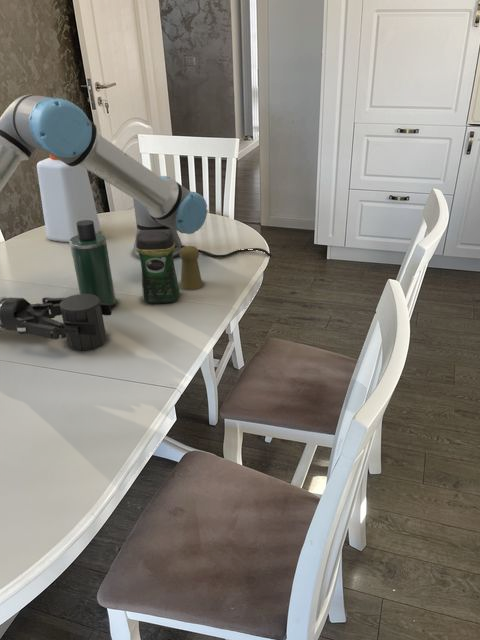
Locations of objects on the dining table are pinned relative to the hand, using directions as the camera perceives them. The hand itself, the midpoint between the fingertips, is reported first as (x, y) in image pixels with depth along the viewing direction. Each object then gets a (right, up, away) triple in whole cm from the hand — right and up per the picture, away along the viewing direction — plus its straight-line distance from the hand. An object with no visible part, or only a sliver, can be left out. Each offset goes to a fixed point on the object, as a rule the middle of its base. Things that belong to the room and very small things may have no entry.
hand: (102, 318), depth 122 cm
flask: (-7, +5, +19) cm, 21 cm away
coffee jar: (+9, +7, +23) cm, 25 cm away
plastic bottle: (-29, +32, +64) cm, 77 cm away
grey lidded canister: (-5, -5, +4) cm, 8 cm away
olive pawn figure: (+16, +11, +30) cm, 36 cm away
